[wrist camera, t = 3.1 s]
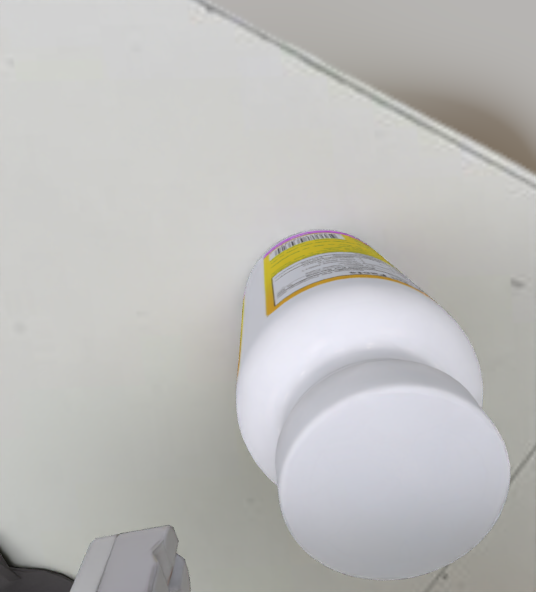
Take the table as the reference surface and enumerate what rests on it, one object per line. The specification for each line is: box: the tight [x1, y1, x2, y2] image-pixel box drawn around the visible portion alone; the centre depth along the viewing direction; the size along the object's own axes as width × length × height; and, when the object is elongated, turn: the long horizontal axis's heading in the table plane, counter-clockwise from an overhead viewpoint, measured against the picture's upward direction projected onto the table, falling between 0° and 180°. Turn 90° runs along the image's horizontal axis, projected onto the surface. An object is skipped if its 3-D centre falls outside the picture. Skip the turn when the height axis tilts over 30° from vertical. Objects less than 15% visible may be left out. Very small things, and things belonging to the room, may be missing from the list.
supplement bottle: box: [236, 230, 510, 580], centre depth 16 cm, size 7×7×13 cm
